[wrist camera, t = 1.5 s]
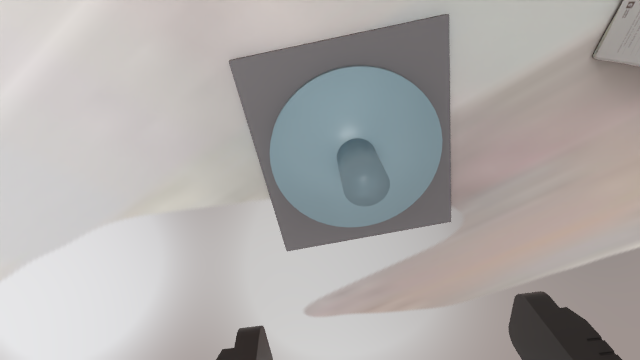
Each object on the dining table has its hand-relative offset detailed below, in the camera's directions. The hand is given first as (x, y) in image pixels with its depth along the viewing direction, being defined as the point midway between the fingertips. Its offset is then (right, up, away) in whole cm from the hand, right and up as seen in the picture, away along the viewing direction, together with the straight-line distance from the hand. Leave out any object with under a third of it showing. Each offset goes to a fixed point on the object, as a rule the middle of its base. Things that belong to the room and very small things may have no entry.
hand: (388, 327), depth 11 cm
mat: (+1, +7, +18) cm, 19 cm away
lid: (+1, +7, +17) cm, 19 cm away
